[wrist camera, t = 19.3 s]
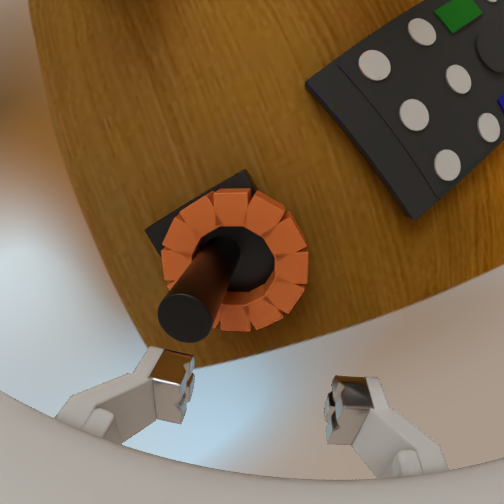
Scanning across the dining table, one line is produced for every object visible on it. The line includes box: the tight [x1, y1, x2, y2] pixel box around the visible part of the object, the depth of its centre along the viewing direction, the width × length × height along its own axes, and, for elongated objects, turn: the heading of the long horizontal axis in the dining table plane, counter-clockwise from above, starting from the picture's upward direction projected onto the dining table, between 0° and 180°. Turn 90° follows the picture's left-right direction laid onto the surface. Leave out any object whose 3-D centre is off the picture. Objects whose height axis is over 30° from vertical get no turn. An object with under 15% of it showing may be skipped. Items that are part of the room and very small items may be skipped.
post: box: [145, 169, 275, 343], centre depth 18 cm, size 8×8×10 cm
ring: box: [161, 188, 309, 332], centre depth 20 cm, size 9×9×2 cm
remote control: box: [305, 0, 504, 221], centre depth 14 cm, size 11×30×2 cm, turn 131°
